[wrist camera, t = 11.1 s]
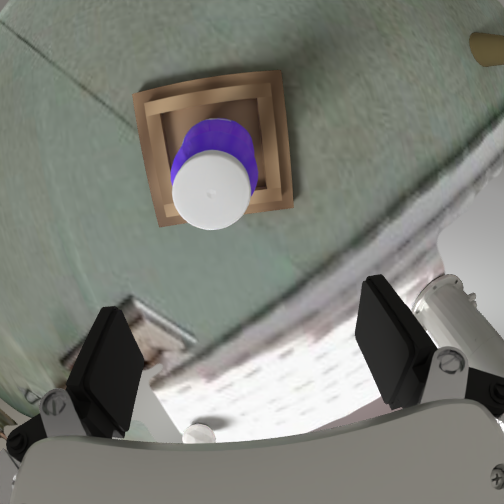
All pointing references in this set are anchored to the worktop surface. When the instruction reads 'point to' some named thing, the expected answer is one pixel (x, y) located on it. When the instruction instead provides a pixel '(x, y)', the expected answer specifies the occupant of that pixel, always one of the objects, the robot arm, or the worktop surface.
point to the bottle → (214, 174)
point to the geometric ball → (198, 434)
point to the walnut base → (217, 106)
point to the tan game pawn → (487, 49)
